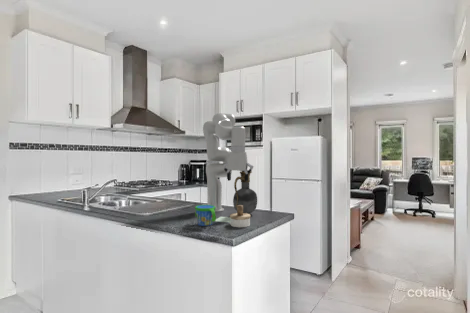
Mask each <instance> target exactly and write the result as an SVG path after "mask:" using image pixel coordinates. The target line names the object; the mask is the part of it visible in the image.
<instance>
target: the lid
mask: <svg viewBox="0 0 470 313" xmlns="http://www.w3.org/2000/svg"><path fill="white" fill-rule="evenodd" d="M250 214H251V213H250ZM250 214H247V213H243V205H237V211H236V212H235V213H230V214H229V217H230V218H231V219H236V220H245V219H249V218H250V219H251V216H250Z"/></svg>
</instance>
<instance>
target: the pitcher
mask: <svg viewBox="0 0 470 313" xmlns="http://www.w3.org/2000/svg"><path fill="white" fill-rule="evenodd" d="M252 173H253V170H252V171H251V172H250V173H249V176H248V181H247V182H245V174H246V173H245V172H244V171H239V174H240V176H237V177H236V178H235V180H234V183H233V186H234V187H233V188H234V194H233V198H232V205H233V209H234V210H235V211H236V212H237V205H243V213H247V214H250V217H251V216H252V213H254V211H255V210H256V208H257V205H258V196H257V193H256V192H255V191H254V190H253V189H252V188H250V183H251V180H250V178H251V177H250V176H251V174H252ZM239 180H240V183H241V188H240V189H237V182H238V181H239Z"/></svg>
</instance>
